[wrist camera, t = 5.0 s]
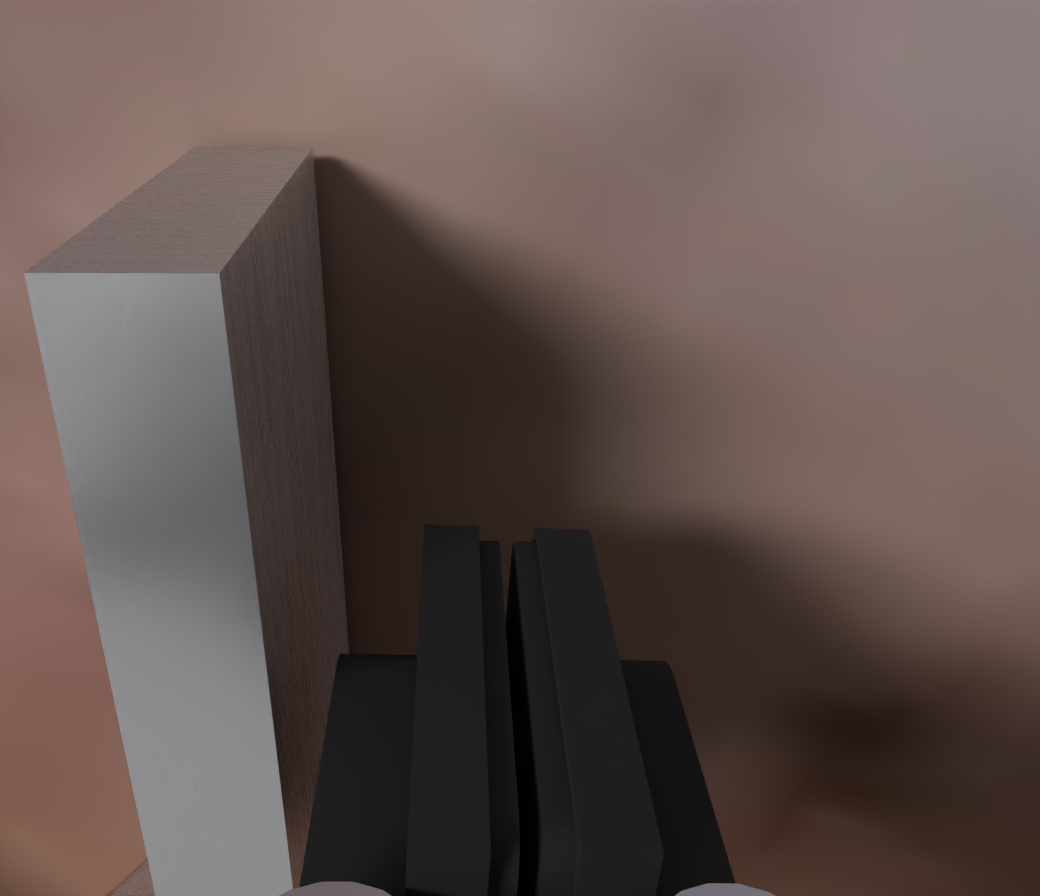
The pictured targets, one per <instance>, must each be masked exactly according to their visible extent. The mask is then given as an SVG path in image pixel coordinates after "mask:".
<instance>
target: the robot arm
mask: <svg viewBox="0 0 1040 896" xmlns="http://www.w3.org/2000/svg"><path fill="white" fill-rule="evenodd" d="M280 896H775V895H773V894H771V893H769V892H767V891H763V890H760V889H756V888H752V887H748V886H745V885H741V884H735V880H734V877H733V874H732V870H731V867H730V864H729V860H728V857H727V854H726V850H725V847H724V844H723V840H722V837H721V834H720V830H719V827H718V823H717V820H716V817H715V813H714V810H713V807H712V803H711V800H710V797H709V793H708V790H707V787H706V783H705V780H704V777H703V773H702V770H701V766H700V763H699V760H698V756H697V753H696V750H695V746H694V743H693V740H692V736H691V733H690V730H689V726H688V723H687V720H686V716H685V713H684V709H683V706H682V703H681V699H680V696H679V693H678V689H677V686H676V683H675V679H674V676H673V674H672V671H671V669H670V666H669V665H668V664H667V663H666V662H665V661H632V660H620V659H619V655H618V651H617V646H616V642H615V638H614V633H613V629H612V625H611V620H610V616H609V611H608V607H607V603H606V598H605V594H604V590H603V585H602V581H601V577H600V572H599V568H598V563H597V559H596V555H595V550H594V546H593V542H592V537H591V534H590V531H588V530H569V529H541V528H535V530H534V533H533V538H532V542H514V543H513V548H512V556H511V568H510V579H509V591H508V602H507V614H506V625H505V613H504V599H503V585H502V571H501V557H500V544H499V541H479V528H478V526H454V525H426V524H425V528H424V546H423V564H422V582H421V600H420V618H419V636H418V654H417V655H381V654H340V655H339V657H338V661H337V665H336V671H335V677H334V682H333V688H332V694H331V700H330V706H329V712H328V718H327V724H326V730H325V736H324V742H323V748H322V754H321V760H320V766H319V772H318V778H317V784H316V790H315V796H314V802H313V808H312V814H311V820H310V826H309V832H308V838H307V844H306V850H305V856H304V862H303V868H302V874H301V880H300V886H299V888H295V889H291V890H289V891H287V892H285V893H283V894H281V895H280Z"/></svg>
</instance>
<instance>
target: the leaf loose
mask: <svg viewBox="0 0 1040 896" xmlns="http://www.w3.org/2000/svg"><path fill="white" fill-rule="evenodd" d="M24 275H25V280H26V285H27V289H28V294H29V299H30V304H31V308H32V313H33V318H34V323H35V327H36V332H37V337H38V342H39V346H40V351H41V356H42V361H43V365H44V370H45V375H46V380H47V384H48V389H49V394H50V399H51V403H52V408H53V413H54V417H55V422H56V427H57V432H58V436H59V441H60V446H61V451H62V455H63V460H64V465H65V470H66V474H67V479H68V484H69V489H70V493H71V498H72V503H73V508H74V512H75V517H76V522H77V527H78V531H79V536H80V541H81V546H82V550H83V555H84V560H85V564H86V569H87V574H88V579H89V583H90V588H91V593H92V598H93V602H94V607H95V612H96V617H97V621H98V626H99V631H100V636H101V640H102V645H103V650H104V655H105V659H106V664H107V669H108V674H109V678H110V683H111V688H112V693H113V697H114V702H115V707H116V711H117V716H118V721H119V726H120V730H121V735H122V740H123V745H124V749H125V754H126V759H127V764H128V768H129V773H130V778H131V783H132V787H133V792H134V797H135V802H136V806H137V811H138V816H139V821H140V825H141V830H142V835H143V839H144V844H145V849H146V854H147V858H148V863H149V868H150V873H151V877H152V882H153V887H154V892H155V896H280V895H281V894H283V893H285V892H287V891H289V890H291V889H295V888H299V886H300V880H301V874H302V868H303V862H304V856H305V850H306V844H307V838H308V832H309V826H310V820H311V814H312V808H313V802H314V796H315V790H316V784H317V778H318V772H319V766H320V760H321V754H322V748H323V742H324V736H325V730H326V724H327V718H328V712H329V706H330V700H331V694H332V688H333V682H334V677H335V671H336V665H337V661H338V657H339V655H340V654H349V643H348V629H347V615H346V601H345V587H344V573H343V560H342V546H341V532H340V518H339V504H338V490H337V476H336V462H335V448H334V434H333V421H332V407H331V393H330V379H329V365H328V351H327V337H326V323H325V309H324V295H323V282H322V268H321V254H320V240H319V226H318V212H317V198H316V184H315V170H314V156H313V148H295V147H200V146H195V147H194V148H193V149H191V150H190V151H188V152H187V153H186V154H184V155H183V156H182V157H180V158H179V159H178V160H176V161H175V162H174V163H172V164H171V165H169V166H168V167H167V168H165V169H164V170H163V171H161V172H160V173H159V174H157V175H156V176H155V177H153V178H152V179H151V180H149V181H148V182H146V183H145V184H144V185H142V186H141V187H140V188H138V189H137V190H136V191H134V192H133V193H132V194H130V195H129V196H127V197H126V198H125V199H123V200H122V201H121V202H119V203H118V204H117V205H115V206H114V207H113V208H111V209H110V210H109V211H107V212H106V213H104V214H103V215H102V216H100V217H99V218H98V219H96V220H95V221H94V222H92V223H91V224H90V225H88V226H87V227H85V228H84V229H83V230H81V231H80V232H79V233H77V234H76V235H75V236H73V237H72V238H71V239H69V240H68V241H67V242H65V243H64V244H62V245H61V246H60V247H58V248H57V249H56V250H54V251H53V252H52V253H50V254H49V255H48V256H46V257H45V258H43V259H42V260H41V261H39V262H38V263H37V264H35V265H34V266H33V267H31V268H30V269H29V270H27V271H26V272H25V273H24Z"/></svg>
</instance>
